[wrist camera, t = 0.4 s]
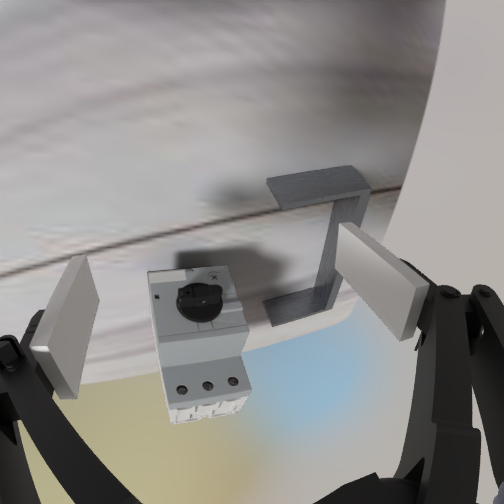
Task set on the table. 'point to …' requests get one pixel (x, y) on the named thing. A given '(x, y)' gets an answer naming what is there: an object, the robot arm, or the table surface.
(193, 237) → the table surface
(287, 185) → the grey u-shaped bracket
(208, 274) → the circuit breaker
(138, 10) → the table surface
